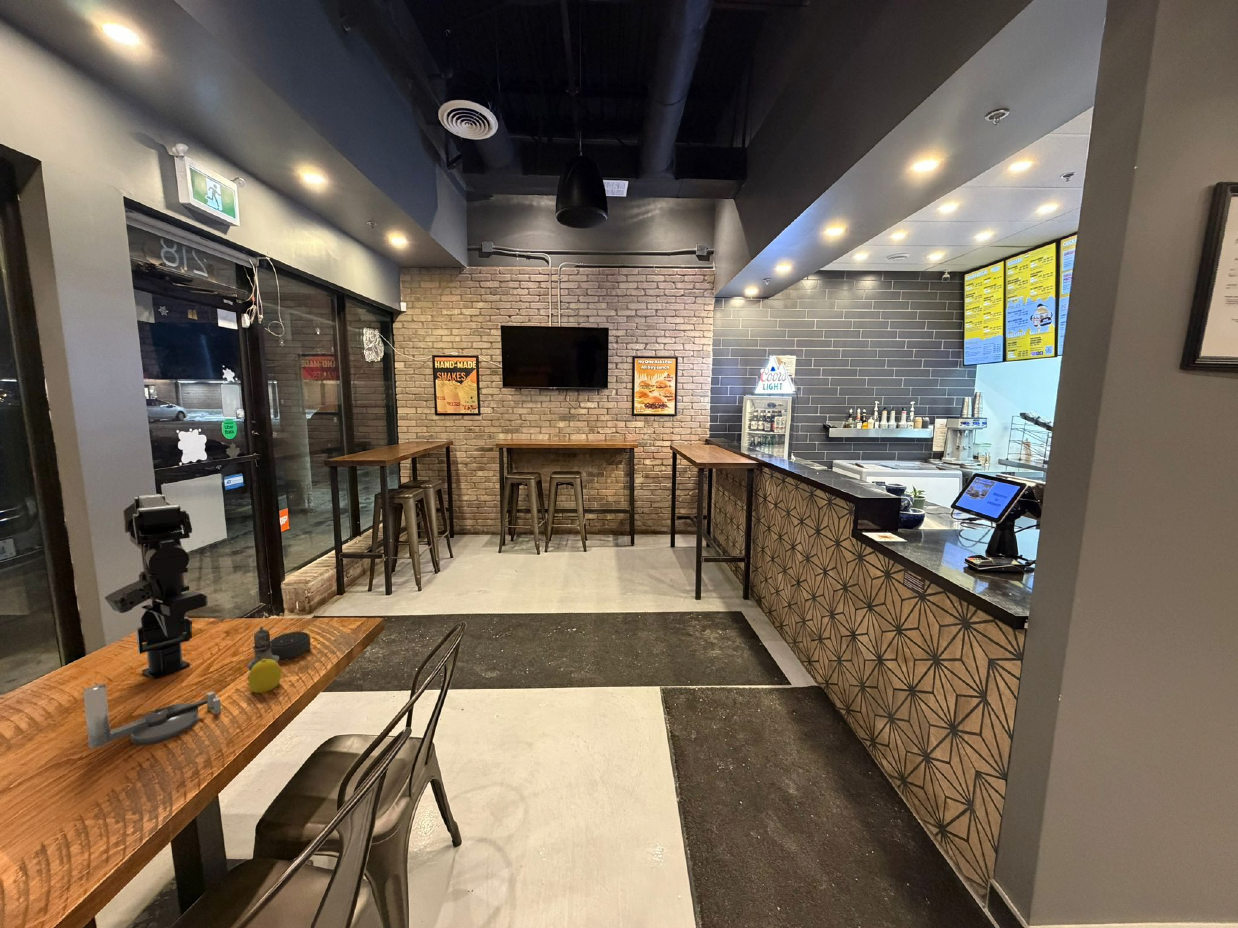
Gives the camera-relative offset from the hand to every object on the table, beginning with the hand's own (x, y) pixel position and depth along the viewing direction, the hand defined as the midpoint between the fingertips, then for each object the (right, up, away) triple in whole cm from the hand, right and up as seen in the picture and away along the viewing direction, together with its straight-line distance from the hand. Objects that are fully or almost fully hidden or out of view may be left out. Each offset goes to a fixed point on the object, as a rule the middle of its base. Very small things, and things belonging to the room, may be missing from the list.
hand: (170, 635), depth 97 cm
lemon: (+20, -13, +1) cm, 24 cm away
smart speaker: (+12, -12, +19) cm, 25 cm away
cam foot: (+11, -13, -13) cm, 21 cm away
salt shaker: (+14, -13, +8) cm, 20 cm away
